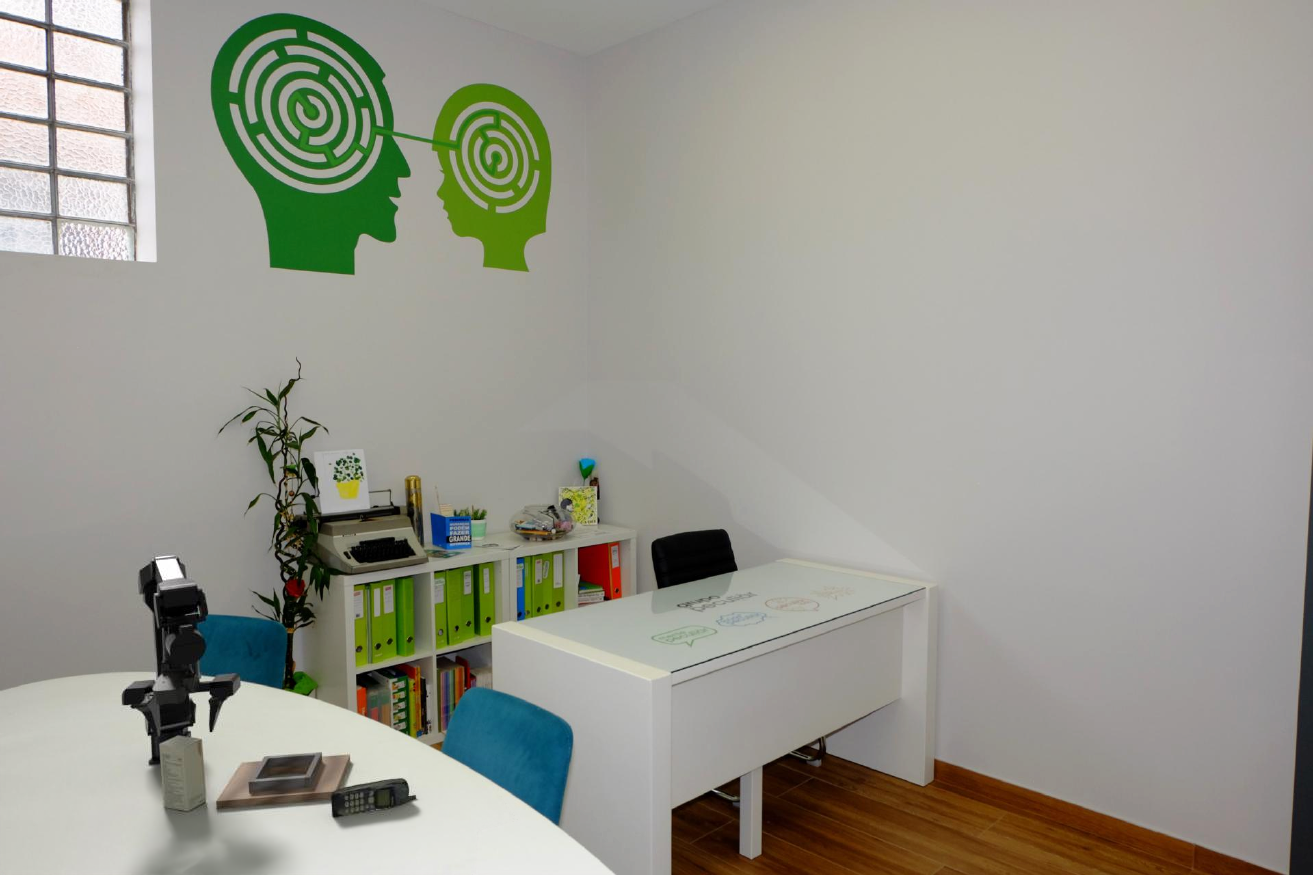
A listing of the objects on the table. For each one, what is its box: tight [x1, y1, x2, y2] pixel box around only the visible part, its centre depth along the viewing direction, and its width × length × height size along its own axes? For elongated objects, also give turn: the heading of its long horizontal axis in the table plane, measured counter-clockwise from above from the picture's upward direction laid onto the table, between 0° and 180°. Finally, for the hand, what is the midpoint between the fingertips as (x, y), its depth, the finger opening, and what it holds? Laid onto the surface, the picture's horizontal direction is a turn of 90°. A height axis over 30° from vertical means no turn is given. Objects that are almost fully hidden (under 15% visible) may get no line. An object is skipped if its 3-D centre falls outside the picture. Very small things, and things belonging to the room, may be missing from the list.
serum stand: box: [215, 751, 351, 810], centre depth 169 cm, size 21×16×4 cm
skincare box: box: [159, 735, 207, 812], centre depth 160 cm, size 6×4×12 cm
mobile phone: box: [330, 777, 417, 818], centre depth 160 cm, size 5×3×15 cm
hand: (184, 733), depth 160 cm, fingers open, 9 cm apart
